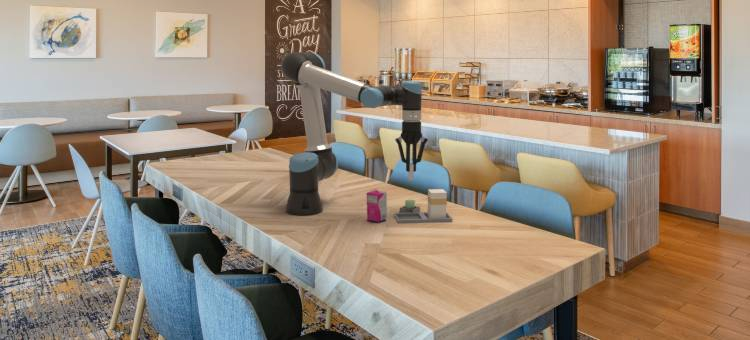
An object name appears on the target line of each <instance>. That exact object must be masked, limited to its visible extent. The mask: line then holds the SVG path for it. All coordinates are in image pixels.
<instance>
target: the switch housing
mask: <svg viewBox="0 0 750 340" xmlns="http://www.w3.org/2000/svg"><path fill="white" fill-rule="evenodd" d="M419 212H421V207H420V206H416V205H415V208H414V209H406V208H405V205H403V206H401V207H399V213H419Z"/></svg>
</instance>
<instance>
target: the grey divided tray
mask: <svg viewBox="0 0 750 340" xmlns="http://www.w3.org/2000/svg"><path fill="white" fill-rule="evenodd" d="M393 215H394V218H395V220H396V222H397V224H421V223H422V224H424V223H426V224H427V223H453V217H451V216H450V214H449V213H448V212H447V211H446V218H435V219H429V218H428V217H427V216H428V211H425V212H424V211H423V212H421V211H420V212H418V213H400V212H394V213H393Z"/></svg>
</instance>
